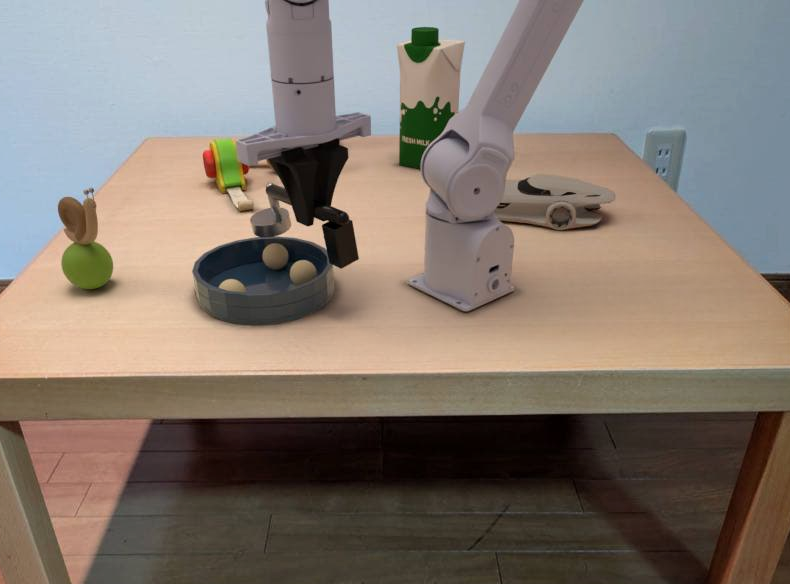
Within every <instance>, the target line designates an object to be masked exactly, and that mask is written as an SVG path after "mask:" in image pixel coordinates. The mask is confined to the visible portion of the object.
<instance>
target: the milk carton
mask: <svg viewBox="0 0 790 584" xmlns="http://www.w3.org/2000/svg"><path fill="white" fill-rule="evenodd" d="M439 33H440V29H439V28H438V27H434V26H433V27H432V26H417V27H413V28H411V36H410V37H411V38H410V40H406V41H404V42H401V43H398V44H396V51H397V57H398V58H397V59H398V67H399V139H398V140H399V141H398V144H399V150H398V153H399V154H398V166H403V167H409V168H413V169H419V170H420V165H421V159H422V156H423V153H424V151H425V150H426V148H427V147H428V145H429V144H430V143H431V142H432V141H434V140H435V139H436V138H437V137H439V136H440V135H441V133H442V132H443V131H444V129H445V127H446V126H447V124H448V121H449V120H450V119H451V118H452V117H453V116H454V115H456V114H457V113H458V112H459V109H460V108H459V107H460V90H461V89H460V87H461V70H462V64H463V57H464V51H465V44H466V41H464V40H456V39H445V38H439Z"/></svg>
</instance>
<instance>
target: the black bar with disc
mask: <svg viewBox="0 0 790 584" xmlns="http://www.w3.org/2000/svg"><path fill="white" fill-rule="evenodd" d="M265 193H266V195H267V199H268V202H269V208H268V207H267V208H263V209H261V210H259V211H257V212H255V213H254V214H252V215H251V217H250V219H249V221H250V225H251V229H252V233H253V234H254V236H255V237H264V238H267V237H275V236H278V237H279V236H281V235H283V234H285V233H287V232H288V231H290V229H291V228H292V221H291V220H292V219H291V216H290V213H289V212H290V211H288V209H287V208H284V207H281V205H280V202H281V203H284V204H287V205H289V206H291V207H292V205H291V202H290V200H289V197H288V195H287V192H286V190H285V188H284V186H280V185H278V184H275V183H273V182H268V183H267V184H266V185H265ZM313 201H314V215H315V216H318V217H320V218H322V219H325V220H327V221H326V222H325V223H323V224H321V229H322V234H323V239H324V243H325V249H326V250H327V254H328V259H329V263H330V264H332V265H333V267H336V268H339V269H341V270H342V269H344V268H345V267H347V266H350V265H351V264H353V263H355V262H356V261H358V260H359V259H360V257H359V252H358V246H357V240H356V234H355V228H354V223H353V222H354V221H353V220H352V219H350V216H349V214H348V213H347V212H346V211H344V210H341V209H339V208H337V207H334V206H332V205H331V206H329V205H326V204H324V203H321V202H319V201H316V200H314V199H313Z"/></svg>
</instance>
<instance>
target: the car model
mask: <svg viewBox="0 0 790 584" xmlns="http://www.w3.org/2000/svg"><path fill="white" fill-rule="evenodd" d="M616 198H617V195H616V192H615V191H613V190H612V189H610V188H608V187H604V186H602V185H598V184H596V183H592V182H588V181H585V180H582V179H578V178H574V177H570V176H564V175H557V174H549V173H536V174H533V175H531V176H529V177H527V178H524V179H506V183H505V191H504V195H503V198H502V200H501V202H500V204H499V205H498V206H497V208H496V209H495V210H494V213H495V215H496V217H497V218H498V219H499V220H500V221H501V222H514V223H524V224H530V225H535V226H540V227H541V226H542V227H547V228H550V229H553V230H558V231H564V230H570V229H576V228H583V227H589V226H591V227H592V226H595V225H597V224H599V222H600V221H601V220H602V218H603V215H601V214H598V213H594V212H593V211H598V210H601V208H602V206H601V205H605V204H610V203H612V202H614V201H615V200H616Z"/></svg>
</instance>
